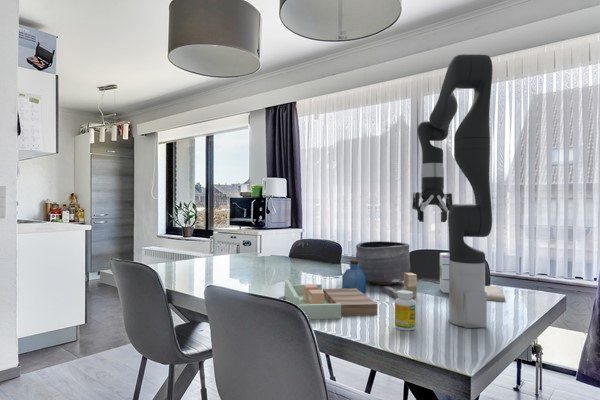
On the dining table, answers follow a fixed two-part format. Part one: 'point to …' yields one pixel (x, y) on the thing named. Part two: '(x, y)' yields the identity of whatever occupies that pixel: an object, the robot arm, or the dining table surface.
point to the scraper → (409, 285)
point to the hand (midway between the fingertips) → (432, 222)
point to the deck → (351, 301)
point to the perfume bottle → (354, 277)
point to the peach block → (316, 297)
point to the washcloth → (494, 293)
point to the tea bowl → (383, 261)
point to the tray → (311, 310)
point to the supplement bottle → (405, 310)
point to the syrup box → (444, 272)
